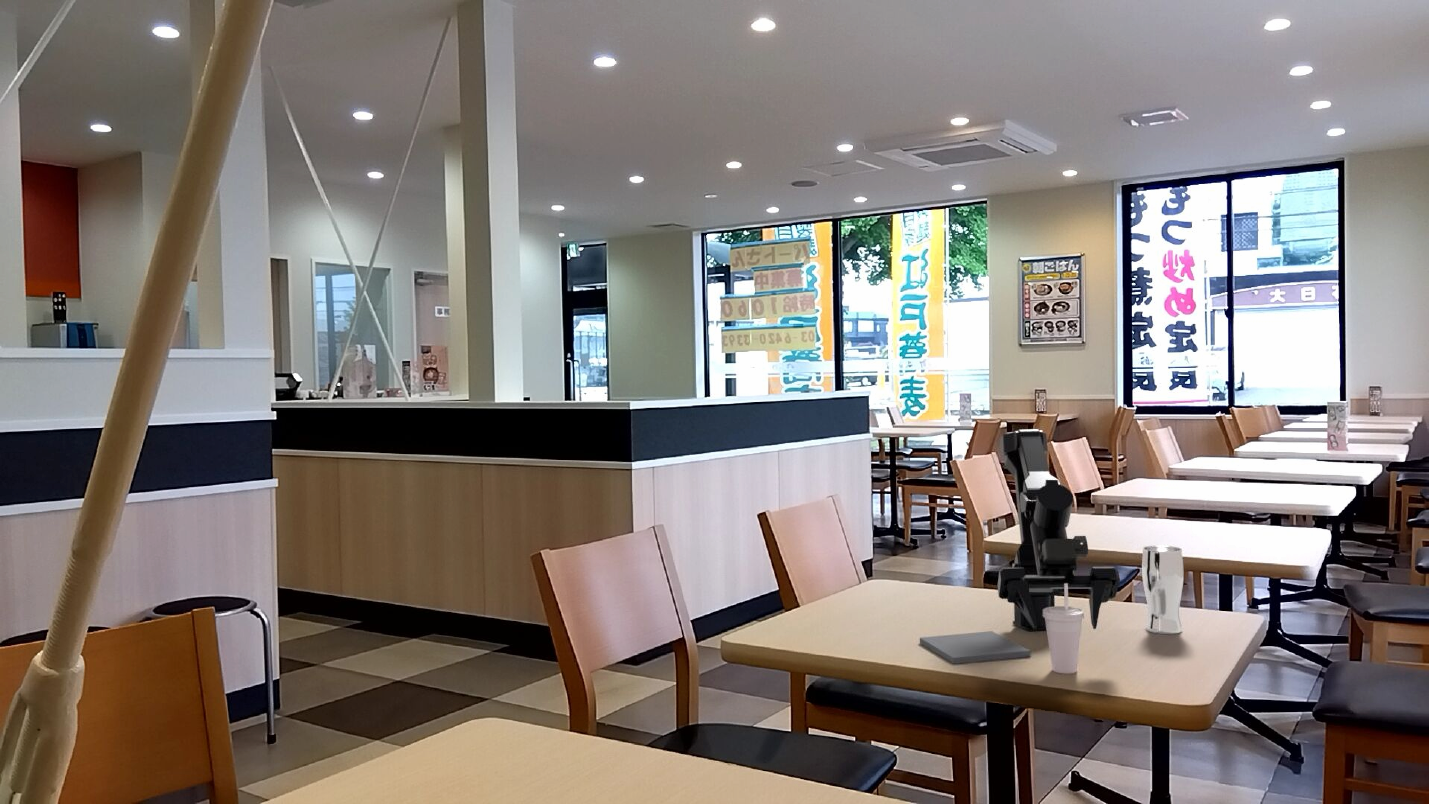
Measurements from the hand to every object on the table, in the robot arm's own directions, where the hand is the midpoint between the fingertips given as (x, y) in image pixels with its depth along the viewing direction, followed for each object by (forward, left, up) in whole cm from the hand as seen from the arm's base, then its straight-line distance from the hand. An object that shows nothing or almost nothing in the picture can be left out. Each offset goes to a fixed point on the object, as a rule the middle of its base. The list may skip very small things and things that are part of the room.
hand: (1065, 627), depth 167 cm
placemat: (+8, -17, -7) cm, 20 cm away
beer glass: (-30, -18, -7) cm, 36 cm away
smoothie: (0, -1, -7) cm, 8 cm away
